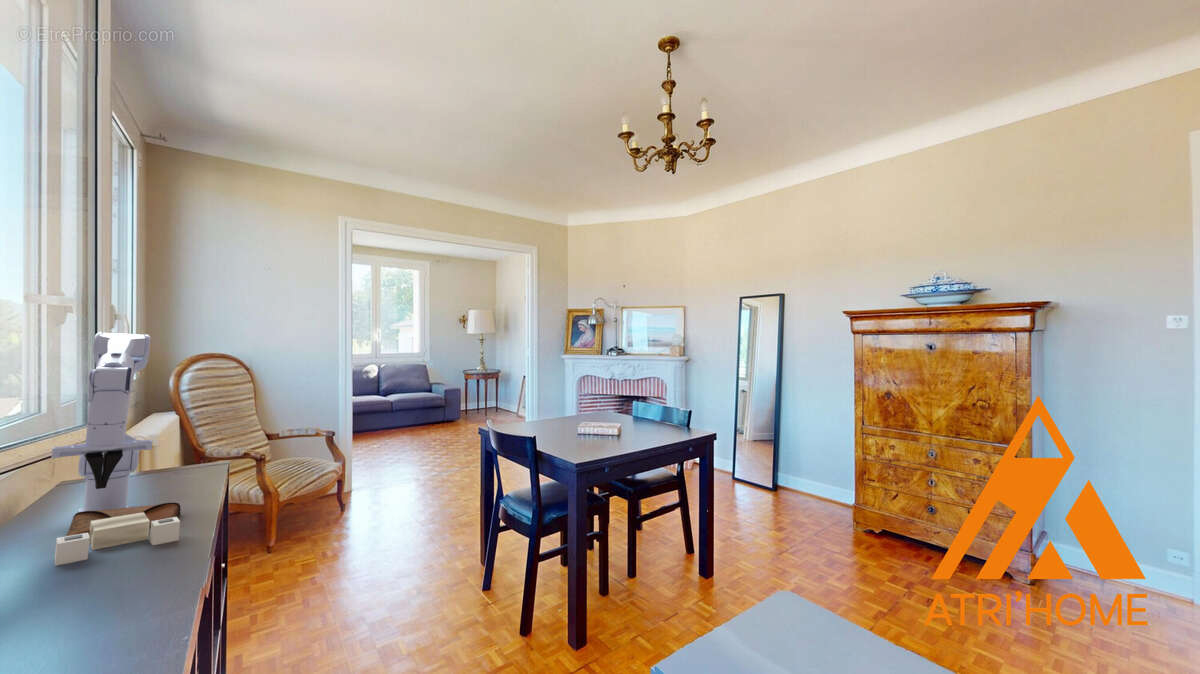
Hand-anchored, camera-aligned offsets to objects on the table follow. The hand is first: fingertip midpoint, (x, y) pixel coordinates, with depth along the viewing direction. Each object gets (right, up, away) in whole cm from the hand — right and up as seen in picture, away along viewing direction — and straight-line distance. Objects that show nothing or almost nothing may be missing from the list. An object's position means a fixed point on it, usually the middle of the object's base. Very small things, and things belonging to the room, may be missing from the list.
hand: (100, 487), depth 98 cm
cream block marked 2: (+14, -11, 0) cm, 18 cm away
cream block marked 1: (+6, -10, -11) cm, 16 cm away
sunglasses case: (-1, -11, +6) cm, 13 cm away
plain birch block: (+5, -11, -1) cm, 12 cm away
